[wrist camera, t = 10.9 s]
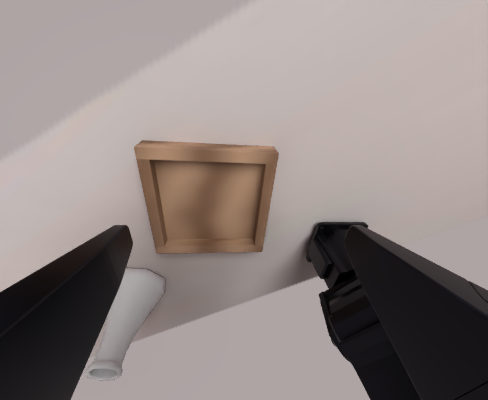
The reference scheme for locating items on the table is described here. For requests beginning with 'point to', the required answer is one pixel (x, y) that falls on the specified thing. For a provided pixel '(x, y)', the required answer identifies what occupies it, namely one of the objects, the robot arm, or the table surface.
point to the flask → (125, 321)
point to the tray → (206, 195)
